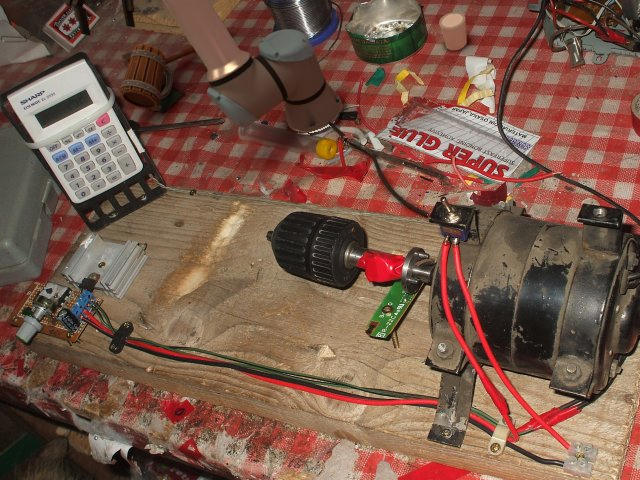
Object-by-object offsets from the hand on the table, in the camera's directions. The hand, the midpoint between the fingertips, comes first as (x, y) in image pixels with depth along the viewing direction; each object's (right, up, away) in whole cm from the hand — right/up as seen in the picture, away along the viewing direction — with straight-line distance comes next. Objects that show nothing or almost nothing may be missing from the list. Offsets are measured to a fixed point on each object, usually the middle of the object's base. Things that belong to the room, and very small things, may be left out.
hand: (108, 30), depth 163 cm
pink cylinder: (+91, -2, +4) cm, 91 cm away
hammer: (+11, +1, +27) cm, 30 cm away
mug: (+4, -16, +13) cm, 21 cm away
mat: (+6, -11, +21) cm, 25 cm away
